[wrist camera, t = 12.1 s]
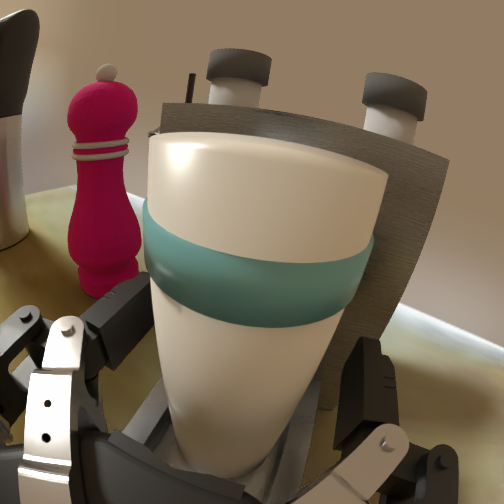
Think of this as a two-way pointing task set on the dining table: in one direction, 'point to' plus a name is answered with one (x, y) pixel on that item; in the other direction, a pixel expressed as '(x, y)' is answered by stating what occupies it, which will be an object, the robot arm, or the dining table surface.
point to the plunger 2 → (393, 106)
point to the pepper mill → (102, 185)
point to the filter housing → (368, 292)
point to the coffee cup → (249, 281)
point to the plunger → (237, 77)
